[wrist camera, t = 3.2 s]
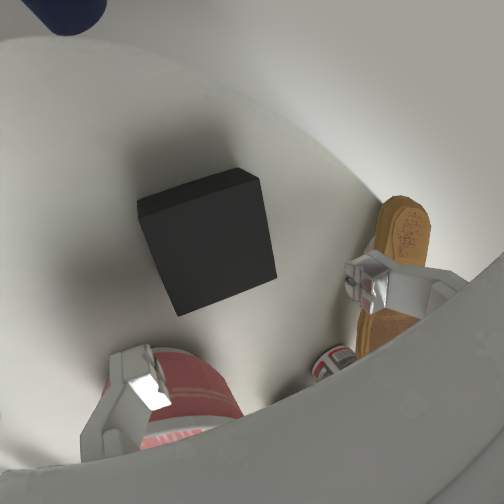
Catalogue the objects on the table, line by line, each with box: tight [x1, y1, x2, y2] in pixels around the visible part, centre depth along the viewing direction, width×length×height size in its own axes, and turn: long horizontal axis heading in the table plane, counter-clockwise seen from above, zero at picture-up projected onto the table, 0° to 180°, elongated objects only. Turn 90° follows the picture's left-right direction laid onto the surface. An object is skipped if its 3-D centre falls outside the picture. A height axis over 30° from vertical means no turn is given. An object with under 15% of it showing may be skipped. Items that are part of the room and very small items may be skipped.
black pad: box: [137, 168, 277, 316], centre depth 16 cm, size 6×6×3 cm
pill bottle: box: [312, 346, 358, 383], centre depth 25 cm, size 5×5×8 cm
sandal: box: [355, 195, 431, 360], centre depth 23 cm, size 7×16×5 cm, turn 168°
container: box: [101, 347, 244, 450], centre depth 18 cm, size 10×10×8 cm
